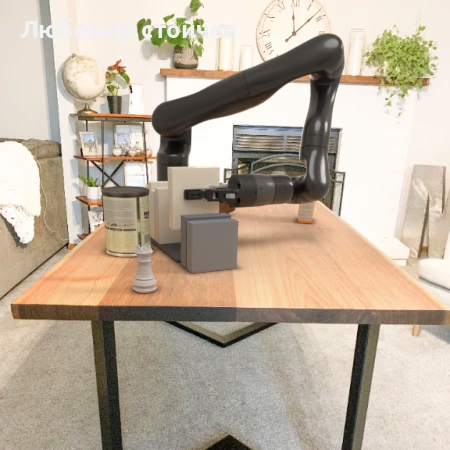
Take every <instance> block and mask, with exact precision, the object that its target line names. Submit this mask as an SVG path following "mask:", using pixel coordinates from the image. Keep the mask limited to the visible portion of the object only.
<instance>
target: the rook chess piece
mask: <svg viewBox="0 0 450 450" xmlns="http://www.w3.org/2000/svg"><path fill="white" fill-rule="evenodd" d="M134 252H135V254H136V255H137V256H136V259H135V261H136V271H135V272H136V273H135V275H134V278H133V280H132V284H133V286H132V287H131V288H132V290H133V291H134V292H135V293H138V294H150V293H154V292H156V290H158V285H157V283H158V280H157V278H156V277H155V275H154V272H153V268H152V261H153V258H152V254H153V253H154V250H153V248H152V245H148V244H146V247H144V244H141V247H140V245H137V246H136V249H135V251H134Z"/></svg>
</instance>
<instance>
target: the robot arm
mask: <svg viewBox="0 0 450 450" xmlns="http://www.w3.org/2000/svg"><path fill="white" fill-rule="evenodd" d="M345 65H346V57H345V46H344V42H343V40H342V38H341V37H340V36H338V35H337V34H336V33H335V34H334V33H329V32H327V33H320V34H318V35H316V36H313V37H311V38H310V39H307V40H306V41H304V42H302V43H300V44H299V45H296V46H295V47H293V48H291V49H290V50H287V51H286V52H284V53H281V54H279V55H277V56H275V57H272V58H270V59H267V60H265V61H263V62H261V63H258V64H256V65H254V66H251V67H248V68H245V69H243V70H240V71H237V72H235V73H233V74H231V75H228V76H226V77H225V78H222V79H220V80H218V81H216V82H214V83H211V84H210V85H207V86H206V87H204V88H202V89H201V90H199V91H196V92H194V93H191V94H188V95H183V96H181V97H177V98H174V99H170V100H166V101H163V102H161V103H159V104H158V105H157V106H156V107H155V108H154V109H153V112H152V114H151V119H150V121H151V123H150V124H151V126H152V129H153V130H154V132H155V133H156V134H158V135H159V147H158V150H157V152H156V157H155V159H156V161H155V162H156V181H168V167H190V157H191V153H192V137H193V136H192V135H193V127H195V126H198V125H200V124H202V123H205V122H208V121H211V120H217V119H221V118H227V117H231V116H234V115H238V114H241V113H244V112H247V111H250V110H252V109H254V108H256V107H260V106H261V105H263V104H265V103H267V101H269V100H270V99H271V98H273V96H275V95H276V94H277V93H278V92H279V91H280V90H282V89H283V88H284V87H286V85H288V84H290V83H292V82H294V81H296V80H299V79H301V78H305V77H307V76H309V87H310V88H309V89H310V90H309V102H308V109H307V113H306V115H305V119H304V122H303V126H302V130H301V139H300V145H299V152H298V159H299V162H300V163H301V164H302V165H304V166H305V167H306V168H305V169H306V171H305V172H306V173H304V174H302V175H296V176H289V175H287V174H281V173H280V174H279V173H275V174H273V173H272V174H265V173H235V174H231V175H230V177H229V178H228V181H227V182H226V183H224V182H223V181H220V185H212V186H210V187H209V188H202V189H185V190H184V199H185V200H203V201H205V200H207V201H209V202H211V201H212V202H229V203H230V205H231V206H232V207H234V208H235V209H242V208H259V207H264V206H272V205H273V206H274V205H284V204H287V205H299V204H305V203H310V202H314V201H315V202H320V201H322V200H323V199H324V198H325V197H326V196H327V195H328V193H329V190H330V188H331V174H330V165H329V159H328V158H329V157H328V155H329V150H330V143H331V141H330V140H331V133H332V123H333V122H332V121H333V113H334V106H335V100H336V96H337V93H338V90H339V86H340V83H341V79H342V76H343V73H344V70H345ZM216 198H218V199H216Z"/></svg>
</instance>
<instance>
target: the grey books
mask: <svg viewBox="0 0 450 450" xmlns="http://www.w3.org/2000/svg"><path fill="white" fill-rule="evenodd" d="M238 243H239V220H237V219H235V218H232V215H231V214H230V213H227V214H226V213H211V214H192V215H181V262H180V265H181V266H182V267H183V268H185V269H186V270H187V271H188V272H190V273H191V274H197V273H207V272H208V273H209V272H217V271H218V272H219V271H225V270H234V269H237V267H238V266H237V264H238V245H239V244H238Z"/></svg>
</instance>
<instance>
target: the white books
mask: <svg viewBox="0 0 450 450" xmlns="http://www.w3.org/2000/svg"><path fill="white" fill-rule="evenodd" d="M147 188H148V189H149V212H150V242H151V243H152V244H154V246H156V247H157V248H158V249H159V250H161V251H162V252H163V253H165V254H166V255H167V256H168V257H169V258H171V259H172V260H173V261H174V262H176V263H181V229H179V230H173V229H171V228H170V227H169V208H168V181H157V180H156V181H152V180H151V181H147Z"/></svg>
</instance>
